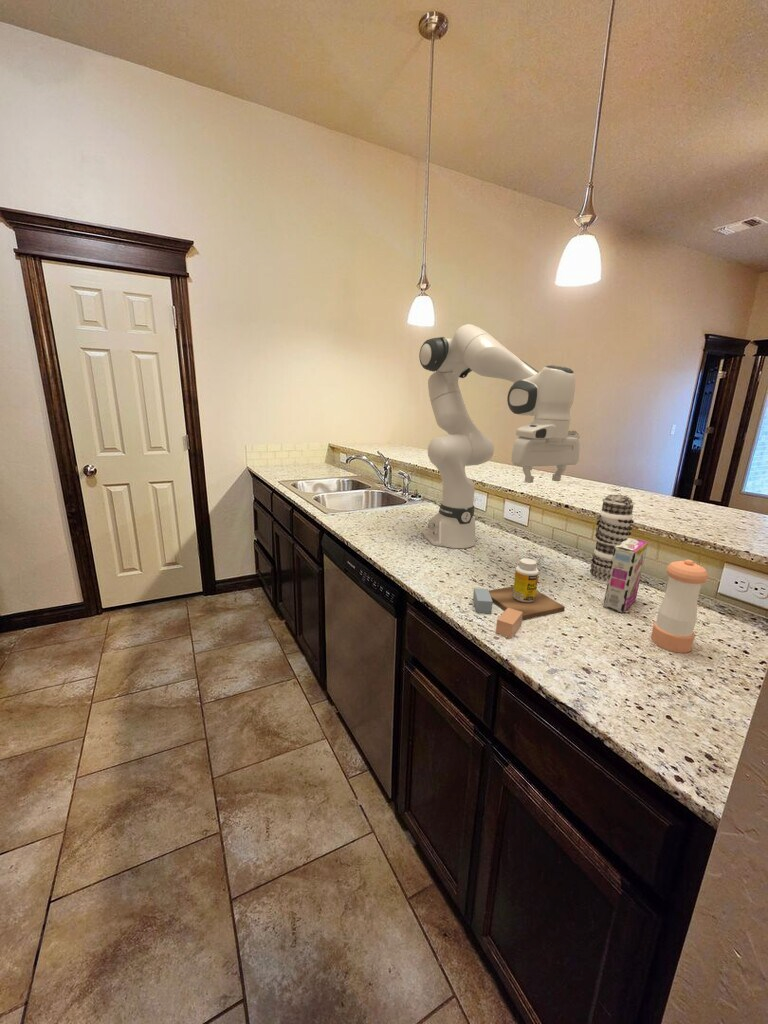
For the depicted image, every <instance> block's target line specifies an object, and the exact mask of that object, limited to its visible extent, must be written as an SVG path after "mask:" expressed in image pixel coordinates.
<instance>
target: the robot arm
mask: <svg viewBox="0 0 768 1024" xmlns="http://www.w3.org/2000/svg"><path fill="white" fill-rule="evenodd" d="M418 355H419V363H420V366H422V368H423V369H425V370H426V371H429V372H433V373H431V374H430V376H429V377H428V381H427V389H428V395H429V399H430V400H429V402H430V404H431V408H432V412H433V416H434V419H435V422H436V424H437V426H438V427H439V428H440V429H441V430H443V431H445V432H446V433H447V434H443V435H439V436H436V437H434V438H433V439H431V440H430V442H429V444H428V446H427V456H428V459H429V461H430V463H431V464H432V465H434V466H435V468H436V469H437V470H438V472H439V475H440V476H441V481H442V482H441V483H442V497H441V499H442V500H441V501H442V502H441V503H439V505H438V507H439V509H438V513H436V514H435V515H434V516H433V517H431V518H430V519H429V520H428V524H427V528H426V529H423V530H421V534H422V535H423V537H424V538H425V539H426V540H427V541H428V542H429V543H430V544H431V545H433V546H438V547H440V546H441V547H445V548H451V549H468V548H471V547H473V546H475V545H476V542H477V541H478V537H477V536H476V519H475V518H474V516H475V505H474V500H475V488H476V486H475V483H474V481H472V479H470V478H469V477H467V473H466V467H468V466H469V467H471V466H480V465H482V464H485V463H487V462H489V461H491V459H492V458H493V456H494V452H495V446H494V443H493V440H492V438H490V437H489V436H488V435H487V434H484V433H483V432H482V431H481V430H480V429H479V428H478V426H477V425H476V424H475V423H474V421H473V420H472V418H471V417H470V414H469V413H468V410H467V408H466V405H465V404H466V403H465V401H464V397H463V395H462V392H461V389H460V386H459V378H461V379H465V378H466V377H468V375H469V374H470V373H471V372H474V373H476V374H477V375H480V376H482V377H487V378H493V379H501V380H505V381H508V382H512V383H513V384H512V385H511V386H510V388H509V390H508V393H507V400H506V402H507V406H508V408H509V410H510V411H511V412H512V413H513V414H515V415H518V416H531V417H532V416H533V418H534V419H533V422H531V423H528V424H525V425H523V426H520V427H518V428H517V429H516V432H515V434H516V436H517V437H516V439H515V441H514V443H513V448H512V452H511V453H512V454H511V463H512V464H513V465H514V466H516V467H521V468H522V472H523V474H524V476H525V477H524V483H527V484H531V483H532V484H533V483H534V479H535V476H533V475H532V473H531V471H533V467H549V466H552V467H555V466H556V468H557V469H556V470H555V472H554V473H552V476H551V480H552V481H553V482H561V479H562V475H563V474H564V473H565V471H566V469H567V466H576V465H577V464H578V462H579V461H580V460H579V458H580V447H581V446H580V445H581V444H580V435H579V432H577V431H576V430H569V428H570V424H571V423H570V422H571V414H570V413H571V409H572V406H573V403H574V398H575V390H576V375H575V371H574V370H572V369H571V368H569V367H565V366H560V365H559V366H558V365H553V364H552V365H545V366H544V367H543V368H541V370H540V371H539V370H536V369H535V368H534V367H533V366H531V365H530V364H528V363H527V362H526V361H524V360H523V359H521V358H520V357H518V356H517V355H515V354H514V353H513V352H512V351H510V350H509V349H508V348H506V347H505V346H504V345H503V344H502V343H500V342H499V341H498V340H497V339H495V337H493V335H491V334H490V333H488V331H486V330H484V329H483V328H481V327H479V326H477V325H475V324H471V323H467V324H463V325H461V326H460V327H459V328H458V329H456V331H455V333H454V334H453V337H452V338H451V337H450V338H448V337H444V336H440V337H439V336H438V337H432V338H429V339H426V340H425V341H424V342H423V343H422V345H421V346H420V348H419V354H418Z"/></svg>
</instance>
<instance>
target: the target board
mask: <svg viewBox="0 0 768 1024" xmlns="http://www.w3.org/2000/svg"><path fill="white" fill-rule="evenodd" d="M513 588H514V585H511V586H507V587H500V588H495V589H490V590H489V589H488V591H489V593H490V596H491V598H492V601H493V604H495V606H497V607H499V608H500V609H501V610H502V611H505V610H506V609H507V608H511V609H514V610H518V611H521V612H523V616H522V621H525V620H530V619H534V618H538V617H542V616H543V617H544V616H548V615H552V614H557V613H561V612H565V609H566V607H565V605H564V604H563V605H562V604H561V603H559V602H558V601H556V600H554V599H552V598H550V597H549V596H547V594H544V593H542V592H541V591H539V590H537V589H536V597H535V600H534V601H532V602H521V601H518V600H516V599H515V598H514V597H513Z"/></svg>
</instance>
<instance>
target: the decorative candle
mask: <svg viewBox="0 0 768 1024" xmlns="http://www.w3.org/2000/svg"><path fill="white" fill-rule="evenodd" d="M634 505H636V503H635V502H633V499H632V498H631V497H630V496H628V495H623V494H609V495H607V496H606V497H605V498H602V505H601V507H602V508H601V510H600V513H599V514H598V516H597V518H596V519H597V521H596V525H597V527H596V529H595V531H596V532H595V534H594V536H595V538H594V539H595V541H596V543H595V547H594V549H593V550H594V551H593V554H592V555H591V556H592V559H591V562H592V563H591V564H590V569H589V575H588V576H589V579H591V580H592V581H595V582H597V583H600V584H604V585H607V584H608V579H609V573H610V568H611V563H612V558H613V553H614V547H615V546H616V545H618V544H620V543H621V542H623V541H624V540H626V539H628V538H629V536H631V535H632V532H630V531H632V530H633V527H632V526H631V525H630V524H634V522H635V521H634V520H633V509H634Z"/></svg>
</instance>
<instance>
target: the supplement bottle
mask: <svg viewBox="0 0 768 1024" xmlns="http://www.w3.org/2000/svg"><path fill="white" fill-rule="evenodd" d="M537 564H538V563H537V561H536V560H535V559H532V558H526V557H525V558H524V557H523V558H521V559H520V560H519V565H517V566H516V567H515V572H514V581H513V586H514V588H513V597H514V598H515V599H516V600H518V601H521V602H532V601H534V600H535V597H536V590H537V587H538V581H539V574H540V571H539V569H538V568H537Z"/></svg>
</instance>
